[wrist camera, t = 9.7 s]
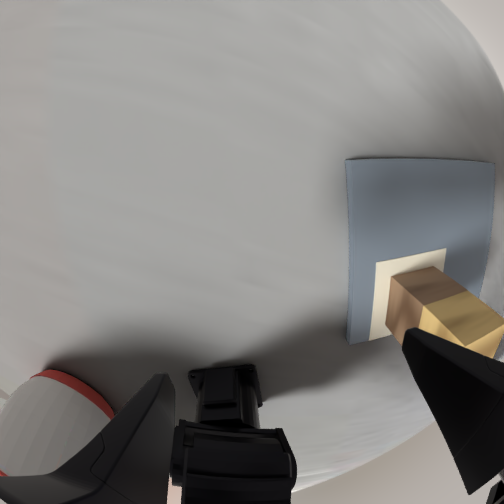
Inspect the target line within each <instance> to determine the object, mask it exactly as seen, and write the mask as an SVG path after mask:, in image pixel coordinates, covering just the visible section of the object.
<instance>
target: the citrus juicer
mask: <svg viewBox="0 0 504 504" xmlns="http://www.w3.org/2000/svg"><path fill="white" fill-rule="evenodd" d="M114 416H115V415H114V413H113V410H112V409H111V407H110V406H109V404H108V403H107V402H106V401H105V400H104V398H103V397H102V396H101V395H100V394H98V393H97V392H96V391H94V390H93V389H92V388H90V387H89V386H88V385H86V384H85V383H83V382H82V381H80V380H78V379H76V378H75V377H73V376H71V375H68V374H66V373H64V372H60V371H57V370H45V371H43V372H41V373H38V374H36V375H34V376H32V377H31V378H30V379H29V380H28V381H26V382H25V383H24V384H22V385H21V386H20V387H19V388H18V389H17V390H16V391H15V392H14V393H12V395H11V396H10V397H9V399H8V400H7V401H6V403H5V404H4V406H3V407H2V409H1V411H0V476H31V475H43V474H48V473H51V472H53V471H55V470H56V469H58V468H59V467H60V466H61V465H63V464H64V463H65V462H66V461H68V460H69V459H70V458H71V457H73V456H74V455H75V454H76V453H78V452H79V451H80V450H81V449H82V448H83V447H85V446H86V445H87V444H88V443H89V442H90V441H91V440H92V439H93V438H94V437H95V436H96V435H97V434H98V433H99V432H101V430H102V429H103V428H104V427H105V426H106V425H107V424H108V423H109V422H110V421H111V420H112V418H113V417H114Z"/></svg>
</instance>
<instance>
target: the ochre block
mask: <svg viewBox="0 0 504 504" xmlns="http://www.w3.org/2000/svg"><path fill="white" fill-rule="evenodd" d="M419 329H422V330H424V331H426V332H429V333H431V334H434V335H436V336H438V337H441V338H443V339H446V340H448V341H451V342H453V343H455V344H458V345H460V346H463V347H465V348H468V349H470V350H472V351H475V352H477V353H480V354H482V355H484V356H487V357H490V358H492V359H493V356H494V354H495V352H496V350H497V348H498V345H499V343H500V341H501V338H502V336H503V333H504V318H502V317H501V316H500V315H499V314H498V313H496V312H495V311H494V310H493V309H491V308H490V307H489V306H487V305H486V304H485V303H484V302H482V301H481V300H480V299H478V298H477V297H476V296H474V295H473V294H472V293H470V292H469V291H468V290H467V291H465V292H462V293H459V294H457V295H454V296H451V297H448V298H445V299H442V300H439V301H436V302H433V303H430V304H427V305H424V306H423V310H422V315H421V319H420V324H419Z"/></svg>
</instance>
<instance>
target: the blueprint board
mask: <svg viewBox="0 0 504 504" xmlns="http://www.w3.org/2000/svg"><path fill="white" fill-rule="evenodd" d="M345 166H346V178H347V193H348V213H349V297H348V317H347V332H346V340H347V342H348V344H349V345H353V344H357V343H361V342H364V341H368V340H369V341H371V340H374V339H378V338H381V337H385V336H388V335H391V334H392V333H391V332H390V330H389V329H388V328H387V327H386V325H385V320H386V314H387V306H388V298H389V290H390V280H391V276H394V275H398V274H403V273H407V272H411V271H415V270H420V269H424V268H428V267H432V266H434V267H436V268H437V269H439V270H440V271H442V272H443V273H445V274H446V275H447V276H449V277H450V278H452V279H453V280H455V281H456V282H457V283H459V284H460V285H462V286H463V287H464V288H466V289H467V290H468V291H469V292H470V293H472V294H473V295H474V296H476V297H477V298H478V299H479V295H480V291H481V287H482V283H483V278H484V274H485V269H486V264H487V258H488V252H489V246H490V239H491V231H492V222H493V210H494V192H495V163H489V162H480V161H467V160H451V159H422V158H382V159H353V160H345Z"/></svg>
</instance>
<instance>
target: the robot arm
mask: <svg viewBox="0 0 504 504" xmlns="http://www.w3.org/2000/svg"><path fill="white" fill-rule="evenodd" d="M402 351H403V353H404V356H405V358H406V360H407V363H408V365H409V367H410V370H411V372H412V375H413V377H414V379H415V381H416V383H417V385H418V387H419V389H420V391H421V393H422V394H423V396H424V398H425V400H426V402H427V404H428V406H429V408H430V410H431V412H432V414H433V416H434V418H435V420H436V421H437V423H438V426H439V428H440V430H441V432H442V434H443V436H444V438H445V440H446V442H447V445H448V447H449V449H450V451H451V453H452V456H453V457H454V461H455V463H456V465H457V467H458V470H459V473H460V475H461V478H462V480H463V482H464V485H465V488H466V490H467V493H468V495H471V494H472V493H473V492H475V491H476V490H478V489H479V488H480V487H482V486H483V485H484V484H486V483H487V482H488V481H489V480H491V479H492V478H493V477H494V476H496V475H497V474H499V476H500V477H501V480H500V481H499V482H497V484H495V485H494V486H493V487H492V488H491V490H490V493H489V496H488V499H487V502H486V504H504V363H503V362H500V361H497V360H495V359H492V358H490V357H487V356H484V355H482V354H480V353H477V352H475V351H472V350H470V349H468V348H465V347H463V346H460V345H458V344H455V343H453V342H451V341H448V340H446V339H443V338H441V337H438V336H436V335H434V334H431V333H429V332H426V331H424V330H422V329H419V328H417V327H412V328H409V329H407V330H406V331H405V334H404V338H403V343H402ZM249 369H252V370H249ZM192 375H194V376H192ZM188 378H189V381H190V383H191V386H192V388H193V390H194V393H195V395H196V397H197V409H196V419H195V422H188V421H186V420H182V419H180V420H179V426H176V427H175V389H174V386H173V384H172V382H171V380H170V378H169V376H168V374H167V373H156V374H154V375H153V376H152V378H151V379H150V380H149V381H148V382H147V383H146V384H145V385H144V386H143V387H142V388H141V389H140V390H139V391H138V392H137V393H136V394H135V395H134V397H133V398H132V399H131V400H130V401H129V402H128V403H127V404H126V405H125V406H124V407H123V408H122V409H121V410H120V411H119V412H118V413H117V414H116V415H115V416H114V417H113V418H112V420H111V421H110V422H109V423H108V424H107V425H106V426H105V427H104V428H103V429H102V430H101V432H99V433H98V434H97V435H96V436H95V437H94V438H93V439H92V440H91V441H90V442H89V443H88V444H87V445H86V446H85V447H83V448H82V449H81V450H80V451H79V452H78V453H76V454H75V455H74V456H73V457H71V458H70V459H69V460H68V461H66V462H65V463H64V464H63V465H61V466H60V467H59V468H58V469H56V470H55V471H53V472H51V473H48V474H43V475H31V476H0V499H2V500H3V501H4V502H6V503H7V504H167V494H168V482H169V473H170V477H172V485H173V486H181V487H182V496H181V504H291V502H290V501H291V500H290V499H291V490H292V489H293V487H294V485H295V482H296V478H297V464H296V460H295V457H294V454H293V452H292V450H291V448H290V445H289V443H288V441H287V439H286V436H285V434H284V432H283V429H282V428H275V429H260V423H259V414H258V408H259V407H262V405H263V403H262V397H261V392H260V387H259V381H258V376H257V370H256V366H255V365H252V364H249V365H242V366H234V367H225V368H215V369H204V370H192V371H189V373H188ZM174 427H175V428H174Z"/></svg>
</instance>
